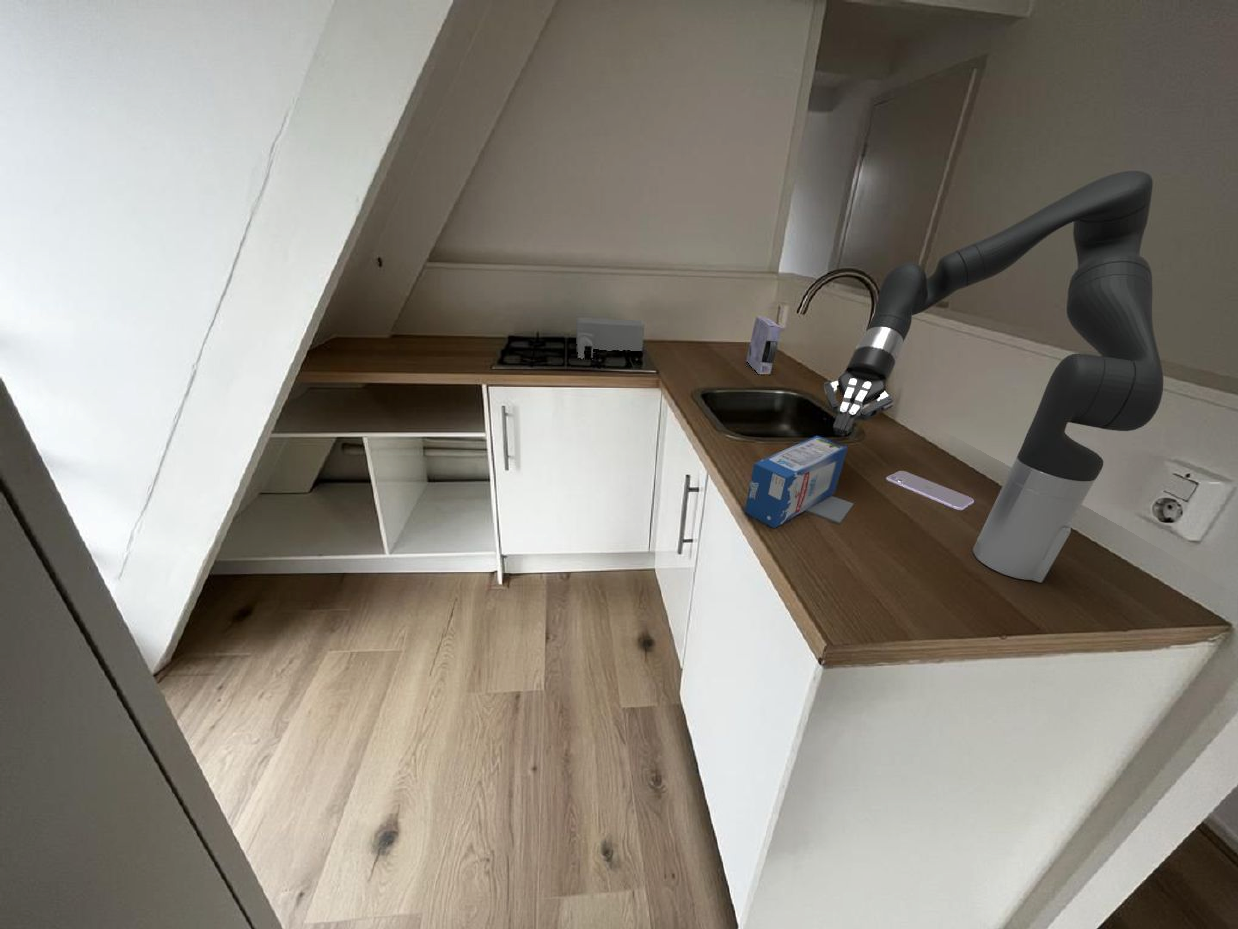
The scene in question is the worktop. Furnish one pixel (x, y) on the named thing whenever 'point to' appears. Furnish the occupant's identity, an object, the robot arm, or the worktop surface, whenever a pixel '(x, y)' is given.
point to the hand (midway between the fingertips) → (838, 433)
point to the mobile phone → (931, 490)
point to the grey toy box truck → (608, 335)
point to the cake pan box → (763, 345)
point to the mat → (831, 509)
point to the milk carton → (794, 480)
